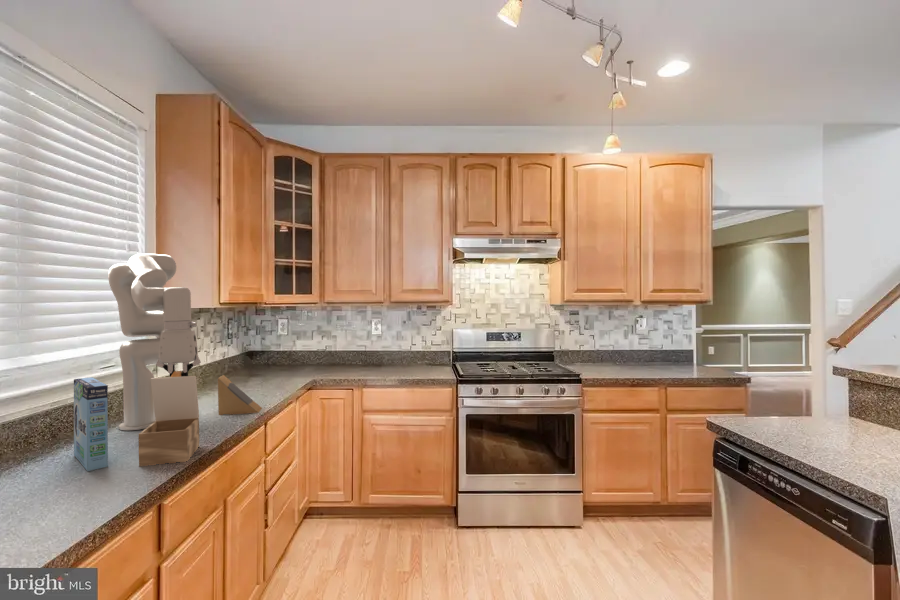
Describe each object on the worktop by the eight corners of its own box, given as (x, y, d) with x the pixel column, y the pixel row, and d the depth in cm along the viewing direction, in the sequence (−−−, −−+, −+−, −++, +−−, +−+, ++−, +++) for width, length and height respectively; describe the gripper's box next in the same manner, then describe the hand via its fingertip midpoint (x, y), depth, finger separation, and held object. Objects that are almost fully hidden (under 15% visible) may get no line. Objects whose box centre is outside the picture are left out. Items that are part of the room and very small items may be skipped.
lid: (155, 421, 143) (160, 413, 148) (198, 417, 146) (202, 410, 151) (150, 378, 140) (156, 372, 144) (195, 376, 143) (199, 369, 148)
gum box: (73, 456, 139) (72, 379, 139) (95, 451, 143) (93, 376, 143) (86, 472, 126) (85, 387, 126) (109, 467, 130) (108, 384, 129)
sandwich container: (259, 413, 189) (258, 376, 189) (218, 415, 186) (217, 377, 186) (262, 408, 197) (262, 372, 197) (223, 410, 194) (223, 374, 194)
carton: (155, 450, 143) (155, 421, 143) (199, 446, 146) (198, 417, 146) (139, 466, 130) (138, 434, 130) (187, 461, 133) (186, 430, 133)
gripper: (208, 325, 153) (209, 381, 153) (153, 327, 149) (154, 385, 149) (202, 326, 145) (204, 385, 145) (144, 328, 141) (146, 389, 141)
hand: (179, 384), depth 147 cm, fingers closed on lid, 2 cm apart
